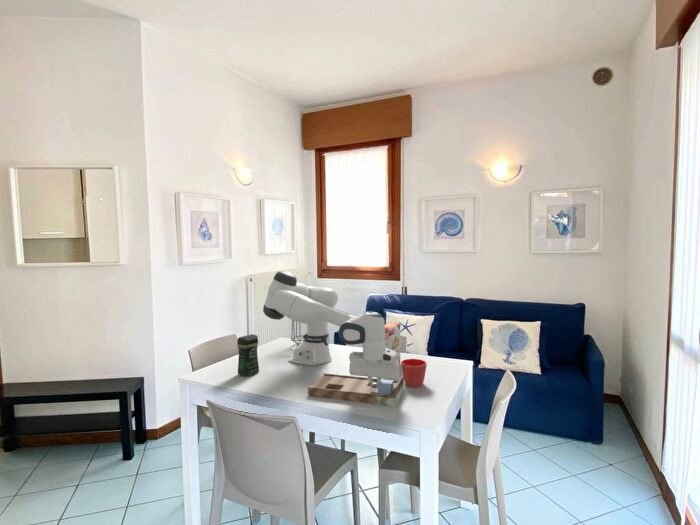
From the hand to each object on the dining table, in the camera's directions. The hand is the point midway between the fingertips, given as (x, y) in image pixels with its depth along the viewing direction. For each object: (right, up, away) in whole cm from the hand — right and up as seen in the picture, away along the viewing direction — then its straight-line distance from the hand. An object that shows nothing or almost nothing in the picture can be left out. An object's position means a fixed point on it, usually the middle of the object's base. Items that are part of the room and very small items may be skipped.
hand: (374, 387), depth 152 cm
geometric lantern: (-37, -1, +81) cm, 90 cm away
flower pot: (+18, -4, +15) cm, 24 cm away
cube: (+4, -1, -1) cm, 5 cm away
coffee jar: (-58, -4, +33) cm, 67 cm away
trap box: (-7, -4, +6) cm, 10 cm away
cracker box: (+10, -2, +39) cm, 40 cm away
